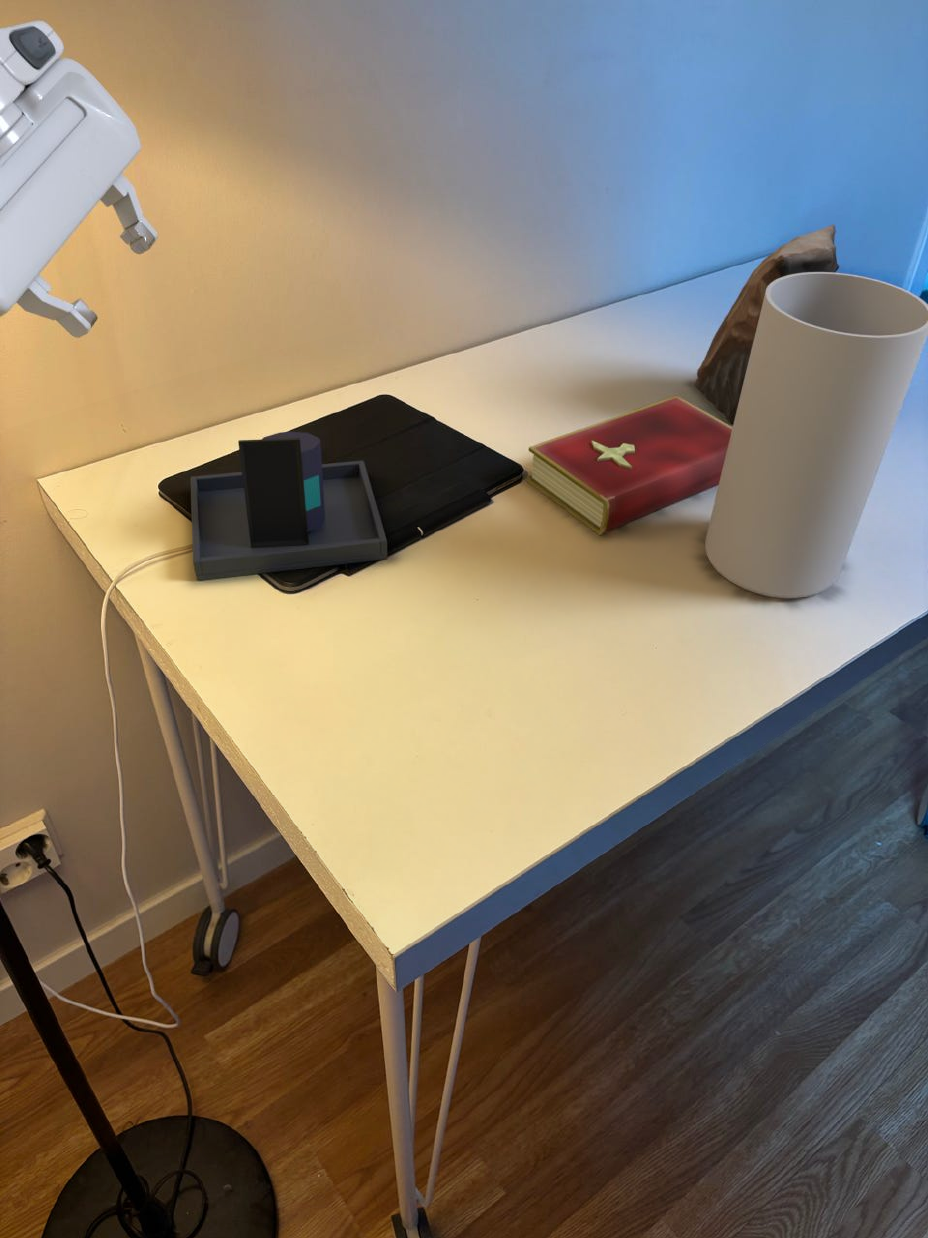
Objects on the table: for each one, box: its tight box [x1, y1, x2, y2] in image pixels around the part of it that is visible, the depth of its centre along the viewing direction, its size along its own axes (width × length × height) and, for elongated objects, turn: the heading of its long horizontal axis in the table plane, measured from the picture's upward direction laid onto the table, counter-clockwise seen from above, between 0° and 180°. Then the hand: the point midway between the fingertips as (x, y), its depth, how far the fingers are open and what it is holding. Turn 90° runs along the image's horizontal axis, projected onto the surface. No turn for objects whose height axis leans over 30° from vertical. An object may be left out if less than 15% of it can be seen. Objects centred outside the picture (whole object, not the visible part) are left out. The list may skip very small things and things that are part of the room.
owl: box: [693, 224, 840, 425], centre depth 106 cm, size 13×13×20 cm
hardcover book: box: [525, 394, 733, 536], centre depth 99 cm, size 12×21×4 cm, turn 125°
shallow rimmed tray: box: [190, 460, 388, 582], centre depth 91 cm, size 17×14×2 cm
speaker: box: [237, 431, 325, 548], centre depth 87 cm, size 8×6×10 cm
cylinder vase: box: [704, 272, 928, 599], centre depth 82 cm, size 12×12×25 cm
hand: (119, 286), depth 68 cm, fingers open, 8 cm apart
